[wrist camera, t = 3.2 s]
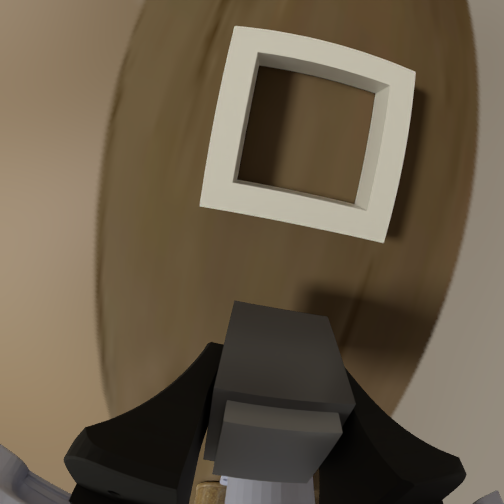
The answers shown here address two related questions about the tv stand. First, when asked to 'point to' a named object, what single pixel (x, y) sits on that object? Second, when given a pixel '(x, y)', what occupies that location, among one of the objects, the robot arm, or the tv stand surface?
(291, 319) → the stepped grey plug block
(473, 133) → the tv stand surface
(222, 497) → the sprinkles bottle
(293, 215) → the socket block
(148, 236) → the tv stand surface
